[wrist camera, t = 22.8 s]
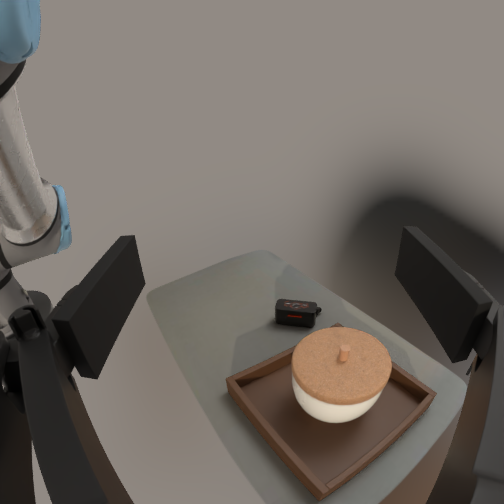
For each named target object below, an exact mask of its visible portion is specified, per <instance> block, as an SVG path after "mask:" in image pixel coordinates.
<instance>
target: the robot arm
mask: <svg viewBox="0 0 504 504" xmlns="http://www.w3.org/2000/svg"><path fill="white" fill-rule="evenodd" d="M39 4H40V0H0V504H36V502H35V495H34V484H33V470H32V441H33V445H34V449H35V453H36V457H37V460H38V464H39V467H40V470H41V473H42V476H43V479H44V482H45V485H46V488H47V491H48V494H49V496H50V499H51V501H52V504H134V503H133V501H132V500H131V498H130V496H129V495H128V493H127V491H126V490H125V488H124V486H123V485H122V483H121V481H120V479H119V478H118V476H117V474H116V472H115V470H114V468H113V467H112V465H111V463H110V461H109V459H108V457H107V455H106V453H105V451H104V449H103V447H102V445H101V443H100V441H99V438H98V436H97V434H96V432H95V430H94V428H93V425H92V423H91V420H90V418H89V416H88V413H87V411H86V408H85V406H84V404H83V401H82V398H81V396H80V393H79V390H78V387H77V385H76V382H75V379H74V378H73V376H72V374H71V372H72V370H73V368H74V366H75V367H76V369H77V371H78V372H79V374H80V376H81V377H87V378H92V379H98V377H99V375H100V373H101V370H102V368H103V366H104V364H105V362H106V360H107V358H108V356H109V354H110V352H111V349H112V347H113V345H114V343H115V341H116V339H117V337H118V335H119V333H120V331H121V329H122V327H123V325H124V323H125V321H126V319H127V318H128V316H129V314H130V312H131V310H132V308H133V306H134V304H135V302H136V300H137V298H138V296H139V295H140V293H141V291H142V289H143V287H144V286H145V280H144V276H143V272H142V267H141V263H140V258H139V254H138V249H137V245H136V240H135V235H131V236H120V238H119V239H118V240H117V241H116V242H115V243H114V244H113V245H112V246H111V247H110V249H109V250H108V251H107V252H106V253H105V254H104V255H103V257H102V258H101V259H100V260H99V261H98V262H97V263H96V265H95V266H94V267H93V268H92V269H91V271H90V272H89V273H88V274H87V275H86V276H85V278H84V279H83V280H82V281H81V283H80V284H79V285H76V286H74V287H73V288H72V289H70V290H69V291H68V292H67V293H66V294H65V295H64V296H63V298H62V300H61V301H59V302H58V304H57V306H55V308H54V309H53V310H52V311H51V313H50V314H49V315H48V316H47V318H46V319H45V320H44V321H43V319H42V317H41V315H40V312H39V310H38V308H37V306H35V305H34V304H33V302H32V300H31V298H30V296H29V295H28V294H27V291H26V290H24V289H23V288H22V287H21V285H20V284H19V283H18V282H17V280H16V279H15V278H14V276H13V274H12V271H11V268H12V267H15V266H18V265H20V264H24V263H27V262H29V261H32V260H35V259H38V258H41V257H44V256H47V255H50V254H53V253H54V254H56V253H59V251H62V250H64V249H67V248H68V247H69V246H70V245H71V241H72V236H71V228H70V225H69V224H70V222H69V214H68V209H67V204H66V198H65V193H64V190H63V188H62V186H60V185H57V186H55V185H53V186H51V185H50V184H49V183H48V182H47V181H46V180H44V179H42V178H40V176H39V173H38V170H37V167H36V164H35V161H34V158H33V155H32V152H31V148H30V145H29V141H28V138H27V134H26V131H25V127H24V123H23V119H22V115H21V111H20V107H19V102H18V98H17V93H16V88H15V85H16V83H17V82H18V81H19V79H20V78H21V76H22V74H23V72H24V69H25V65H26V59H27V57H30V56H31V55H32V54H34V53H35V51H36V49H37V48H38V44H39V39H40V23H41V19H40V18H41V16H40V6H39ZM395 276H396V277H397V279H398V280H399V281H400V283H401V284H402V286H403V287H404V289H405V290H406V292H407V293H408V294H409V296H410V297H411V299H412V300H413V302H414V303H415V305H416V306H417V307H418V309H419V311H420V312H421V313H422V315H423V317H424V318H425V320H426V321H427V323H428V324H429V326H430V327H431V329H432V331H433V332H434V334H435V335H436V337H437V338H438V340H439V342H440V343H441V345H442V347H443V348H444V350H445V352H446V353H447V355H448V357H449V358H450V360H451V362H452V363H455V362H459V361H463V360H467V358H468V356H469V354H470V352H471V350H472V348H473V349H474V350H475V351H476V353H477V355H476V357H475V358H474V360H473V362H472V364H471V366H470V368H469V369H468V371H467V373H466V375H468V374H469V373H470V372H471V375H470V380H469V384H468V388H467V392H466V396H465V400H464V404H463V408H462V411H461V415H460V418H459V422H458V425H457V428H456V431H455V434H454V437H453V440H452V443H451V446H450V448H449V451H448V454H447V457H446V459H445V462H444V464H443V467H442V469H441V472H440V474H439V476H438V479H437V481H436V483H435V485H434V488H433V490H432V492H431V494H430V496H429V498H428V500H427V502H426V504H504V305H500V304H499V303H498V302H497V301H496V300H495V299H494V298H493V297H492V296H491V294H489V292H488V291H487V290H485V289H484V287H483V286H482V285H481V284H479V282H478V281H477V280H476V279H475V278H474V277H473V276H472V275H470V274H469V273H467V272H465V271H464V270H462V269H461V268H460V267H459V266H458V265H457V264H456V263H455V262H454V261H453V260H452V259H451V258H450V257H449V256H448V255H447V254H446V253H445V252H444V251H443V250H442V249H441V248H439V247H438V246H437V245H436V244H435V243H434V242H433V241H432V240H431V239H429V238H428V237H427V236H426V235H425V234H424V233H423V232H422V231H421V230H419V229H418V228H417V227H416V226H415V227H414V226H413V227H411V226H409V227H403V232H402V238H401V244H400V250H399V255H398V261H397V266H396V271H395ZM13 337H16V339H12V340H10V339H11V338H13ZM2 384H3V385H4V390H3V386H2Z"/></svg>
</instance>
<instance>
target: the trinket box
mask: <svg viewBox="0 0 504 504" xmlns="http://www.w3.org/2000/svg"><path fill="white" fill-rule="evenodd" d="M291 366H292V384H293V390H294V393H295V397H296V399H297V401H298V403H299V404H300V405H301V407H302V408H303V409H304V410H305V411H306V412H307V413H308V414H309V415H311V416H312V417H314V418H316V419H318V420H321V421H323V422H328V423H343V422H348V421H351V420H354V419H356V418H358V417H360V416H361V415H363V414H364V413H366V412H367V411H368V410H369V409H370V408H371V407H372V406H373V405H374V403H375V402H376V401H377V399H378V398H379V396H380V395H381V393H382V391H383V389H384V387H385V385H386V383H387V381H388V379H389V377H390V374H391V369H392V363H391V358H390V355H389V353H388V351H387V349H386V348H385V347H384V345H383V344H382V343H381V342H380V341H379V340H377V339H376V338H374V337H373V336H371V335H369V334H368V333H365V332H363V331H360V330H357V329H353V328H346V327H332V328H325V329H321V330H318V331H315V332H313V333H311V334H309V335H308V336H306V337H305V338H303V339H302V340H301V341H300V342H299V343H298V344H297V346H296V347H295V349H294V352H293V354H292V360H291Z"/></svg>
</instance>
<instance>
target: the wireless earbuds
mask: <svg viewBox="0 0 504 504" xmlns="http://www.w3.org/2000/svg"><path fill="white" fill-rule="evenodd" d="M321 310H322V309H321V308H320V307H317V304H316V303H315V302H306V301H296V300H286V299H279V300H278V301H277V303H276V306H275V321H276V323H278V324H285V325H294V326H303V327H313V326H314V325H315V319H316V315H318V313H320V312H321Z"/></svg>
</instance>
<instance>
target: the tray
mask: <svg viewBox="0 0 504 504" xmlns="http://www.w3.org/2000/svg"><path fill="white" fill-rule="evenodd" d="M332 327H343V326H342V325H341V324H339V323H337V324H335V325H333V326H331V327H329V328H332ZM296 346H297V345H296ZM296 346H294V347H292V348H290V349H288V350H286V351H284V352H282V353H280V354H278V355H276V356H274V357H271V358H269V359H267V360H265V361H263V362H261V363H259V364H257V365H255V366H253V367H250V368H248V369H246V370H244V371H242V372H239V373H237V374H235V375H233V376H230V377H228V378H226V383H227V388H228V392H229V394H230V395H231V396H232V398H233V399H234V401H235V402H236V403H237V405H238V406H239V407H240V409H241V410H242V411H243V412H244V414H245V415H246V416H247V418H248V419H249V420H250V422H251V423H252V424H253V425H254V427H255V428H256V429H257V430H258V432H259V433H260V434H261V435H262V437H263V438H264V439H265V440H266V442H267V443H268V444H269V445H270V446H271V448H272V449H273V450H274V451H275V452H276V454H277V455H278V456H279V457H280V458H281V460H282V461H283V462H284V463H285V464H286V465H287V467H288V468H289V469H290V470H291V471H292V472H293V473H294V474H295V476H296V477H297V478H298V479H299V480H300V481H301V482H302V483H303V484H304V486H305V487H306V488H307V489H308V490H309V491H310V492H311V493H312V494H313V495H314V496H315V497H316V498H317V499H318V500H319V501H320V500H322V499H323V498H325V497H326V496H328V495H329V494H331V493H332V492H333V491H335V490H336V489H338V488H339V487H340V486H342V485H343V484H344V483H346V482H347V481H348V480H350V479H351V478H352V477H354V476H355V475H356V474H357V473H359V472H360V471H361V470H362V469H364V468H365V467H366V466H367V465H369V464H370V463H371V462H372V461H373V460H374V459H376V458H377V457H378V456H379V455H380V454H381V453H382V452H384V451H385V450H386V449H387V448H388V447H389V446H390V445H391V444H392V443H393V442H395V441H396V440H397V439H398V438H399V437H400V436H401V435H402V434H403V433H404V432H405V431H406V430H407V429H408V428H409V427H410V426H411V425H412V424H413V423H414V422H415V421H416V420H417V419H418V418H419V417H420V416H421V415H422V413H423V412H424V411H425V410H426V409H427V408H428V407H429V406H430V404H431V402H432V401H433V399H434V397H435V396H436V394H437V393H436V392H434V391H433V390H432V389H430V388H429V387H427V386H426V385H425V384H423V383H422V382H420V381H419V380H417V379H416V378H415V377H413V376H412V375H410V374H409V373H408V372H406V371H405V370H403V369H402V368H401V367H399V366H398V365H396V364H395V363H394V362H392V361H391V363H392V369H391V374H390V377H389V379H388V381H387V383H386V385H385V387H384V389H383V391H382V393H381V395H380V396H379V398H378V399H377V401H376V402H375V403H374V405H373V406H372V407H371V408H370V409H369V410H368V411H367V412H366V413H364V414H363V415H361V416H360V417H358V418H356V419H354V420H351V421H348V422H343V423H328V422H323V421H321V420H318V419H316V418H314V417H312V416H311V415H309V414H308V413H307V412H306V411H305V410H304V409H303V408H302V407H301V405H300V404H299V403H298V401H297V399H296V397H295V393H294V390H293V384H292V366H291V360H292V354H293V352H294V349H295V347H296Z"/></svg>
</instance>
